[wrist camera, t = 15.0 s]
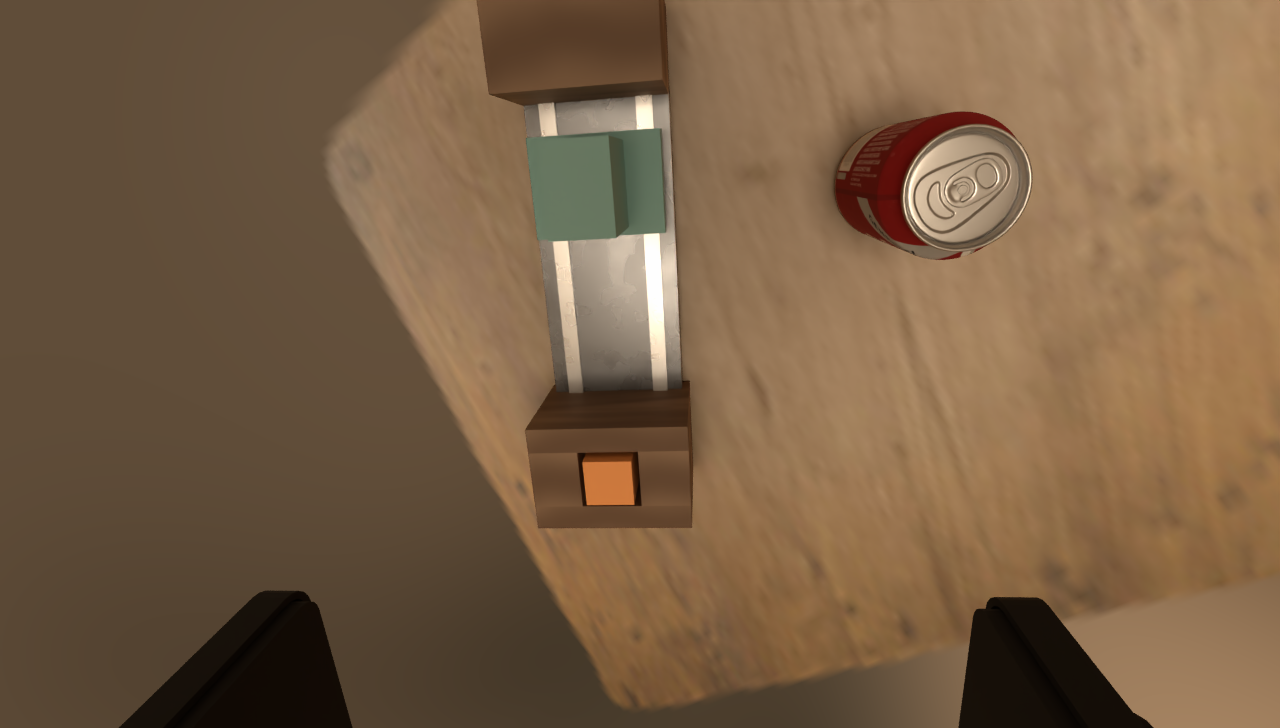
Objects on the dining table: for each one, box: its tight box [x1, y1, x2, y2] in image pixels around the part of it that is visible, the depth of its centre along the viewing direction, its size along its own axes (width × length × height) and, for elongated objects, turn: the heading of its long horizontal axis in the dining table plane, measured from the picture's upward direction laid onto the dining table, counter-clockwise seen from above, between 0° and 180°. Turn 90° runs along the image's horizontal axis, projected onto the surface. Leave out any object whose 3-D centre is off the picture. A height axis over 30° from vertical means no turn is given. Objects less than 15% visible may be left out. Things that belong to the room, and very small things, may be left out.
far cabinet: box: [525, 381, 693, 528], centre depth 41 cm, size 7×10×8 cm
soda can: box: [835, 112, 1032, 260], centre depth 32 cm, size 7×7×12 cm
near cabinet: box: [477, 0, 669, 106], centre depth 34 cm, size 5×9×8 cm, turn 94°
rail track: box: [524, 59, 683, 393], centre depth 40 cm, size 21×9×2 cm, turn 4°
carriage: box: [526, 128, 666, 242], centre depth 34 cm, size 6×8×8 cm
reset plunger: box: [582, 452, 640, 505], centre depth 41 cm, size 3×3×8 cm
